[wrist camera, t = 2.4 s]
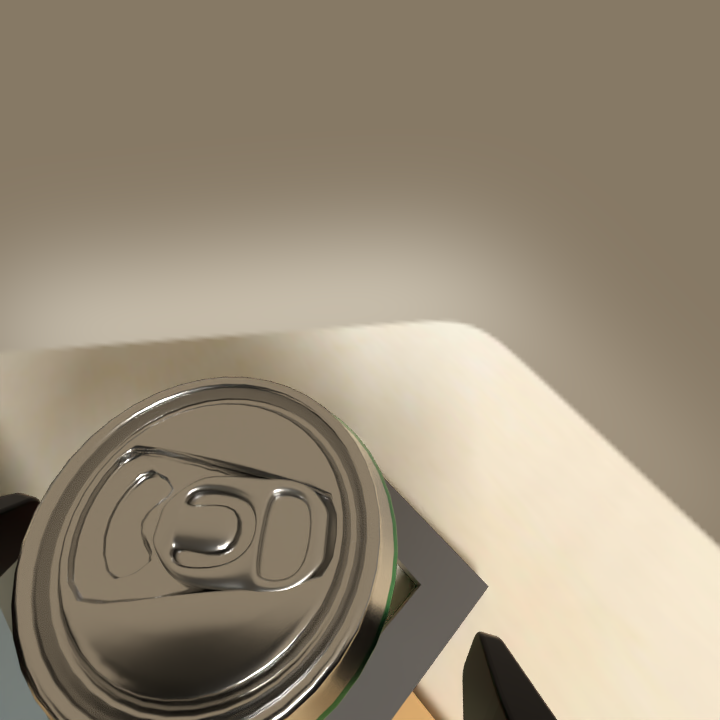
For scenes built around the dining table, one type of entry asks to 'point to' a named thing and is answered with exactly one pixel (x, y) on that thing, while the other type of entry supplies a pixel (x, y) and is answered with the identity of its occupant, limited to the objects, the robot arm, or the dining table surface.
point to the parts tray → (13, 664)
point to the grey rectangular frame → (413, 623)
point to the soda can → (207, 562)
